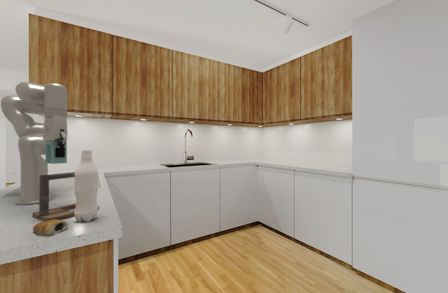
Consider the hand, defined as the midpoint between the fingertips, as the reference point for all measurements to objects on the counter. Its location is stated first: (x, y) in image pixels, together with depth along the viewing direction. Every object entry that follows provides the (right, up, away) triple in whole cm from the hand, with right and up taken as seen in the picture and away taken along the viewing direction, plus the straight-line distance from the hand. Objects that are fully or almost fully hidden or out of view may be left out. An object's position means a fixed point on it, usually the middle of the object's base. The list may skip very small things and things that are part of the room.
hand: (56, 157), depth 86 cm
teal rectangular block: (0, -3, 0) cm, 3 cm away
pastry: (+16, -23, -22) cm, 35 cm away
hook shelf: (+8, -22, -4) cm, 24 cm away
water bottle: (+20, -22, -11) cm, 32 cm away
